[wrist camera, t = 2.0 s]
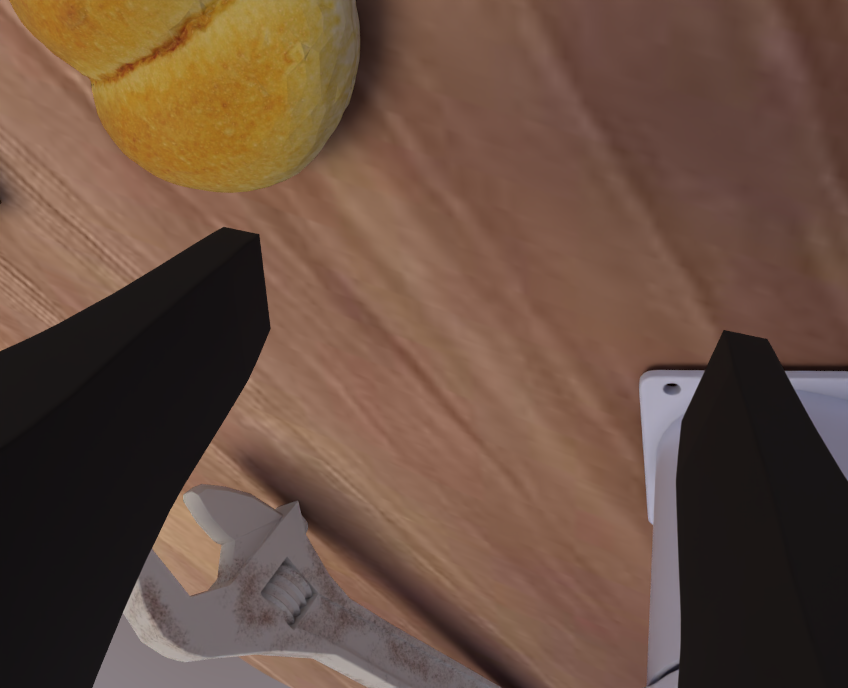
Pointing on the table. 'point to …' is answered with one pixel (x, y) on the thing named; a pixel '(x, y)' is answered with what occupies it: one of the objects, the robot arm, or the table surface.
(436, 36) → the table surface
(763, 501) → the robot arm
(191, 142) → the bread roll
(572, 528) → the table surface
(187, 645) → the wrench
